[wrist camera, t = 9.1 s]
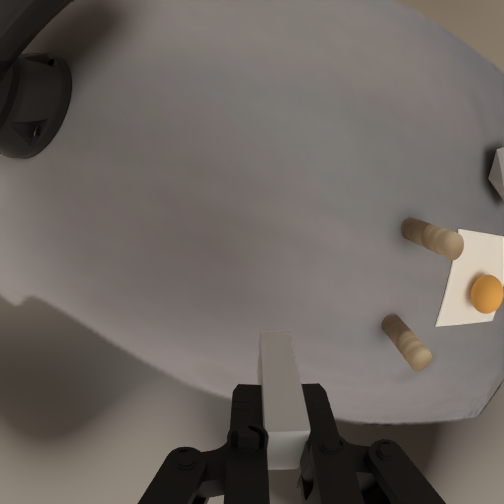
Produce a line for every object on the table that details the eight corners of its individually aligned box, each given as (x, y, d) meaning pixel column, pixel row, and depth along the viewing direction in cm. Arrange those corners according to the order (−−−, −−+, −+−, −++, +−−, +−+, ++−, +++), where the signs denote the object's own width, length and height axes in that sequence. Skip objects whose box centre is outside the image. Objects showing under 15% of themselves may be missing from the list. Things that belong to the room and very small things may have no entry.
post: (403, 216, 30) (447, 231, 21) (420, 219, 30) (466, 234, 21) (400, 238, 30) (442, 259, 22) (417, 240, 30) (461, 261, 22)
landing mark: (458, 228, 30) (458, 228, 30) (512, 238, 30) (513, 238, 30) (434, 325, 33) (435, 326, 33) (491, 320, 33) (492, 320, 33)
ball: (483, 269, 32) (470, 271, 30) (511, 279, 27) (501, 282, 25) (474, 303, 33) (460, 308, 31) (501, 315, 28) (490, 322, 26)
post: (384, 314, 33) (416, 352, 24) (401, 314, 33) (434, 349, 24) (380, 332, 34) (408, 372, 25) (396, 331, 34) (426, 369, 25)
